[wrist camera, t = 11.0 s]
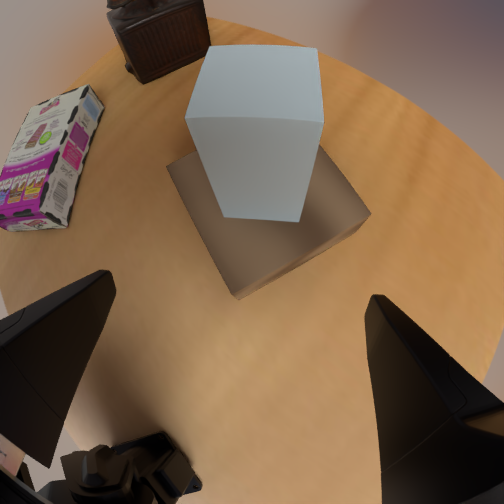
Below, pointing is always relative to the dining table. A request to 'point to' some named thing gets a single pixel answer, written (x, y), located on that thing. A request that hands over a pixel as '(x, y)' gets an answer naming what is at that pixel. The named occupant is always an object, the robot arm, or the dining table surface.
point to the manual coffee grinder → (159, 34)
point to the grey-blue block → (258, 127)
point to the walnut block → (269, 224)
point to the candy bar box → (48, 161)
